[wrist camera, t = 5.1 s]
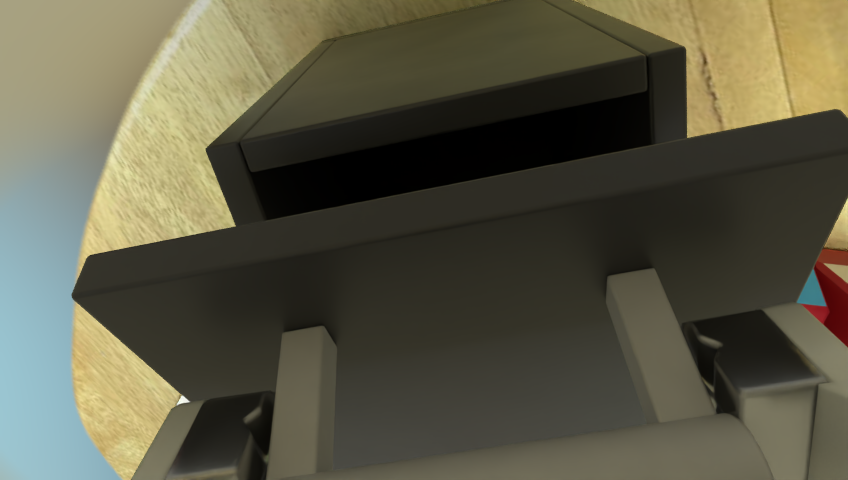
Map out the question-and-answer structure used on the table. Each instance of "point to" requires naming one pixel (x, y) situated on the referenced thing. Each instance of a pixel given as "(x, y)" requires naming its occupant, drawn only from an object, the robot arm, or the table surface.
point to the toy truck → (829, 292)
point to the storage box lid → (494, 311)
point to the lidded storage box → (450, 106)
